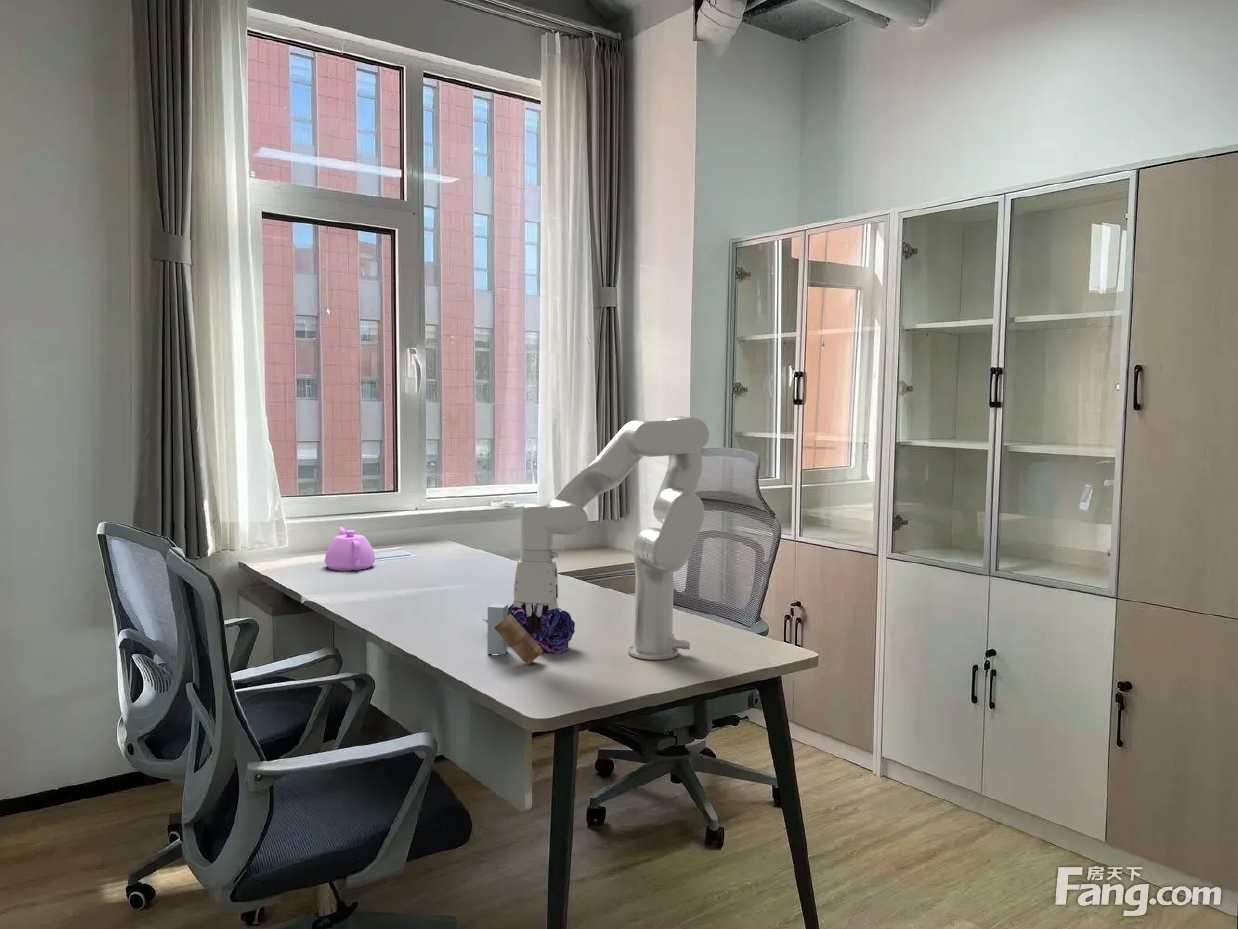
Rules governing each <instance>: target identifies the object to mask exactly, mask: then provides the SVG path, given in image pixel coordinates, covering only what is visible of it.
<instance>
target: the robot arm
mask: <svg viewBox="0 0 1238 929" xmlns="http://www.w3.org/2000/svg"><path fill="white" fill-rule="evenodd" d="M709 439H710V430H709V428H708V425H707V424H706V423H705V422H704V421H703V420H702V419H700V418H697V417H694V416H682V415H681V416H679V415H677V416H676V415H674V416H671V417H667V418H666V419H664V420H640V419H639V420H637V419H636V420H631V421H629V422H627V423H625V424H624V425H623V426H622V427H621V429H620V430H619V431H618V432H617V433H616V434H615V436H614V437H613V438H612V439H611V440H610V441H609V443H607V445H606V446H605V447H604V448H603V450H602V451H601V452H600V453H599V455H597V456H596V457H595V458H594V460H593V461H592V462H591V463H590V464H589V465H587V466H586V467H585V468H583V469H582V470H581V471H580V472H578V473H577V474H576V475H575V476H574V477H573V478H572V479H570V481H568V482H567V483H566V484H565V485H564V486H563V488H562V489H561V490H560V491H559V492H558V494H556V496H555V497H554V498H553V499H552V500H551V501H550V503H540V502H539V503H537V502H536V503H533V502H532V503H526V504H524V505H523V506H522V508H521V515H520V516H521V520H520V522H521V524H520V527H521V528H520V531H521V532H520V559H519V560H518V561H517V563H516V568H515V576H514V583H513V603H512V604H513V605H514V606H515V607H519V608H522V609H523V610H524V611H525V612H526V613H527V616H528V628H529V629H530V633H538V632H539V631H540V629H542V615H543V614H544V613H545V612H546V611H547V610H551V609H556V608H557V609H558V608H559V604H558V598H559V579H558V578H559V574H558V567H557V562H556V561H555V560H554V559H556V558H559V552H558V551H555V549H554V548H553V543H554V542H553V540H554V539H553V538H554V536H553V535H561V536H562V535H563V536H576V535H577V536H578V535H579V534H581V533H583V532H584V531H585V530H586V528H587V526H588V523H589V517H588V514H587V512H586V510H585V509H584V508H585V507H586V506H587V505H588V504H589V503H590V502H591V501H592V500H593V499H595V498H596V497H598V496H599V495H601V494H603V493H606V492H609V491H611V490H613V489H615V488H616V487H618V486H619V485H621V483H623V481H624V480H625V479H626V477H627V476H628V475H629V474H630V473H631V471H632V470H633V469H634V468H635V466H636V465H637V464H638V463H639V462H640V461H641V459H643V457H651V458H652V457H665V456H668V464H667V465H668V466H667V470H666V471H665V475H664V477H663V480H662V482H661V485H660V488H659V490H658V493H657V494H656V497H655V499H654V503H653V506H652V512H653V515H654V517H655V519H656V520H657V521H658V522H659V523H661V524H662V526H661V528H659V527H648V528H646V529H645V528H644V529H643V530H641V531H640V532H639V533H638V534H637V535H636V536H635V539H634V542H633V547H632V548H633V550H632V551H633V553H632V554H633V562H634V563H633V564H634V570H635V593H634V594H635V597H634V598H635V600H634V601H635V602H634V640H633V641H634V643H633V644H632V645H630V646H628V648H627V650H628V651H627V652H628V655H629V656H631V657H634V658H636V659H642V660H649V661H652V660H653V661H660V660H668V659H669V660H670V659H673V658H676V657H677V656H678V655H679V650H680V649H682V650H689V651H690V649H691V642H690V641H687V640H686V639H677V638H676V637H675V633H673V632H674V631H673V624H674V618H673V617H674V593H675V592H674V588H675V587H674V583H675V582H674V573H676V572H679V571H680V570H681V569H682V568H683V567H684V566H685V565H686V563H687V562H688V561H689V559H690V556H691V553H692V552H693V549H694V546H695V545H696V544H695V543H696V541H697V539H698V535H699V534H700V532H701V528H702V525H703V523H704V519H705V505H704V503H703V500H702V499H701V498H700V497H699V496H698V494H696V492H697V488H698V486H699V482H700V480H701V476H702V471H703V458H702V452H701V450H703V449H704V448H705V446H706V445H707V444H708V442H709ZM533 604H534V605H535V604H538V608H537V613H536V614H535V612H534V605H533Z"/></svg>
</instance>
